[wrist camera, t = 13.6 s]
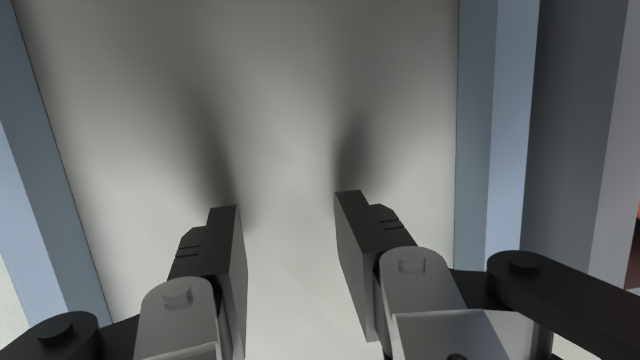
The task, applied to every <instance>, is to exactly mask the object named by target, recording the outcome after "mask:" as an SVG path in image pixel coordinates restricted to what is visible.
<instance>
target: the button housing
mask: <svg viewBox="0 0 640 360" xmlns="http://www.w3.org/2000/svg"><path fill="white" fill-rule="evenodd" d="M639 201H640V0H540V4H539V16H538V28H537V40H536V52H535V64H534V76H533V88H532V100H531V112H530V124H529V136H528V148H527V160H526V172H525V184H524V196H523V208H522V220H521V232H520V245H519V250H523V251H529V252H533V253H537V254H540V255H543V256H545V257H548V258H550V259H552V260H555V261H557V262H560V263H562V264H564V265H567V266H569V267H571V268H574V269H576V270H579V271H581V272H583V273H586V274H588V275H591V276H593V277H595V278H598V279H600V280H602V281H605V282H607V283H610V284H612V285H614V286H617V287H619V288H622V289H624V290H626V291H629V292H631V293H633V294H636V295H638V296H640V220H639V219H637V218H636V217H637V212H638V206H639Z"/></svg>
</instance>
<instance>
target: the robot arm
mask: <svg viewBox="0 0 640 360" xmlns="http://www.w3.org/2000/svg"><path fill="white" fill-rule="evenodd" d="M334 212H335V225H336V239H337V249H338V256H339V260H340V264H341V267H342V270H343V273H344V276H345V279H346V282H347V285H348V288H349V291H350V294H351V297H352V300H353V303H354V306H355V309H356V312H357V315H358V318H359V321H360V324H361V327H362V329H363V332H364V335H365V338H366V341H367V343H368V342H374V341H380V342H381V345H382V353H383V360H563V359H561V358H560V357H558V356H556V355H555V354H553V353H551V352H552V345H553V338H554V333H556V334H558V335H560V336H561V337H563V338H565V339H567V340H569V341H570V342H572V343H574V344H576V345H578V346H579V347H581V348H583V349H585V350H587V351H588V352H590V353H592V354H594V355H596V356H597V357H599V358H600V359H601V360H640V296H638V295H636V294H633V293H631V292H629V291H626V290H624V289H622V288H619V287H617V286H614V285H612V284H610V283H607V282H605V281H602V280H600V279H598V278H595V277H593V276H591V275H588V274H586V273H583V272H581V271H579V270H576V269H574V268H571V267H569V266H567V265H564V264H562V263H560V262H557V261H555V260H552V259H550V258H548V257H545V256H543V255H540V254H537V253H533V252H529V251H523V250H506V251H500V252H497V253H495V254H493V255H491V256H490V257H489V258H488V260H487V265H486V271H466V270H455V269H450V268H448V266H447V264H446V262H445V260H444V258H443V257H442V256H441V255H440V254H438V253H437V252H435V251H433V250H430V249H428V248H424V247H418V245H417V244H416V242H415V241H414V239H413V238H412V237H411V235H410V234H409V232H408V231H407V230H406V228H404V225H403V224H402V222H401V221H399V218H398V217H397V215H396V214H395V213H394V211H393V210H392V209H390V208H388V207H386V206H384V205H382V204H373V205H369V204H368V202H367V201H366V199H365V197H364V195H363V194H362V192H361V191H360V190H352V191H344V192H336V193H334ZM247 289H248V268H247V258H246V252H245V245H244V239H243V233H242V226H241V220H240V214H239V209H238V205H230V206H222V207H214V208H210V211H209V215H208V219H207V223H206V226H201V227H193V228H192V229H190V230H189V231H188V232H187V233H186V234H185V235H184V236H183V237H182V238H181V241H180V244H179V247H178V250H177V253H176V255H175V259H174V261H173V264H172V267H171V270H170V273H169V276H168V279H167V281H166V282H164V283H162V284H160V285H158V286H156V287H155V288H153V289H152V290H151V291H150V292H148V293H147V295H146V296H145V297H144V299H143V301H142V304H141V311H140V314H138V315H135V316H133V317H131V318H128V319H126V320H123V321H120V322H117V323H114V324H111V325H108V326H105V327H102V328H100V326H99V322H98V319H97V317H96V316H95V315H94V314H92V313H90V312H86V311H72V312H66V313H62V314H59V315H56V316H53V317H50V318H48V319H46V320H44V321H42V322H40V323H38V324H36V325H34V326H33V327H32V328H30V329H29V330H27V331H26V332H25V333H23V334H22V335H21V336H19V337H18V338H17V339H15V340H14V341H12V342H11V343H10V344H8V345H7V346H6V347H4V348H3V349H2V350H0V360H245V344H246V316H247Z"/></svg>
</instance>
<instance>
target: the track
mask: <svg viewBox="0 0 640 360" xmlns="http://www.w3.org/2000/svg"><path fill="white" fill-rule="evenodd" d="M539 4H540V0H460V9H459V53H458V97H457V141H456V184H455V228H454V269H455V270H466V271H486V265H487V260H488V258H489V257H490V256H491V255H493V254H495V253H497V252H500V251H506V250H519V245H520V232H521V220H522V208H523V196H524V184H525V172H526V160H527V148H528V136H529V124H530V112H531V100H532V88H533V76H534V64H535V52H536V40H537V28H538V16H539ZM0 253H1V255H2V258H3V260H4V263H5V266H6V268H7V271H8V273H9V276H10V278H11V281H12V283H13V286H14V288H15V291H16V293H17V296H18V298H19V301H20V303H21V306H22V308H23V311H24V313H25V316H26V318H27V321H28V323H29V326H30V328H32V327H33V326H34V325H36V324H38V323H40V322H42V321H44V320H46V319H48V318H50V317H53V316H56V315H59V314H62V313H66V312H72V311H86V312H90V313H92V314H94V315H95V316H96V317H97V319H98V322H99V326H100V328H102V327H105V326H108V325H111V324H112V320H111V317H110V314H109V311H108V308H107V305H106V301H105V298H104V295H103V292H102V289H101V286H100V282H99V279H98V276H97V273H96V270H95V267H94V263H93V260H92V257H91V254H90V251H89V248H88V244H87V241H86V238H85V235H84V232H83V229H82V225H81V222H80V219H79V216H78V213H77V210H76V206H75V203H74V200H73V197H72V194H71V191H70V187H69V184H68V181H67V178H66V175H65V172H64V168H63V165H62V162H61V159H60V156H59V153H58V149H57V146H56V143H55V140H54V137H53V134H52V130H51V127H50V124H49V121H48V118H47V115H46V111H45V108H44V105H43V102H42V99H41V95H40V92H39V89H38V86H37V83H36V80H35V76H34V73H33V70H32V67H31V64H30V61H29V57H28V54H27V51H26V48H25V45H24V42H23V38H22V35H21V32H20V29H19V26H18V23H17V19H16V16H15V13H14V10H13V7H12V4H11V0H0Z"/></svg>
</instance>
